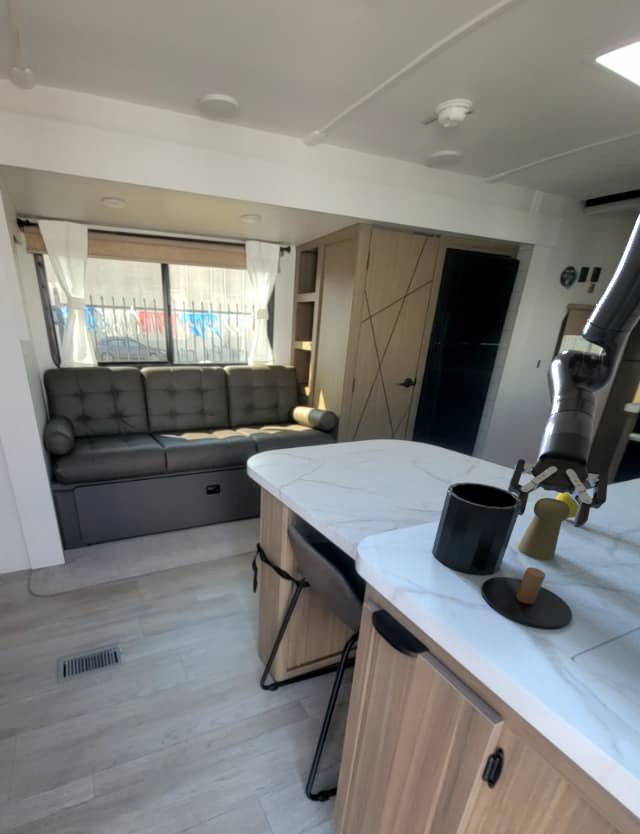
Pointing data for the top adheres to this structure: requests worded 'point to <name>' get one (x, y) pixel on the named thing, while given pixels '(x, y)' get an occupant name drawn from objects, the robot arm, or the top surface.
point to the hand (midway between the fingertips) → (548, 519)
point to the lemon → (568, 503)
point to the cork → (544, 529)
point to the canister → (475, 528)
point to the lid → (527, 600)
